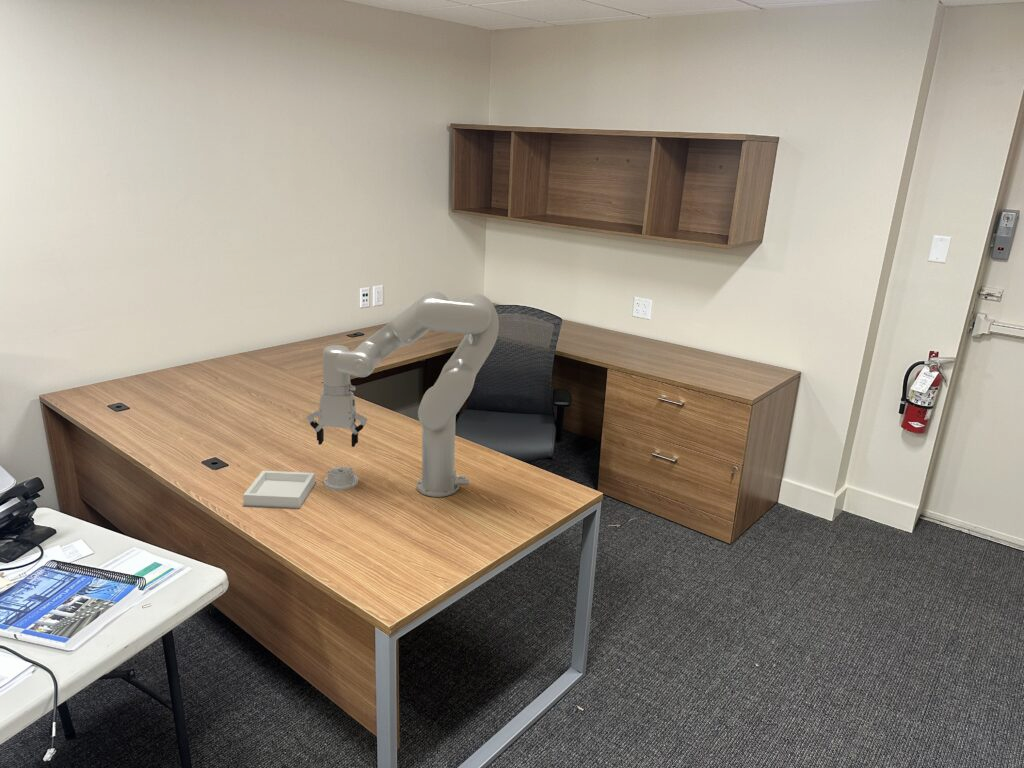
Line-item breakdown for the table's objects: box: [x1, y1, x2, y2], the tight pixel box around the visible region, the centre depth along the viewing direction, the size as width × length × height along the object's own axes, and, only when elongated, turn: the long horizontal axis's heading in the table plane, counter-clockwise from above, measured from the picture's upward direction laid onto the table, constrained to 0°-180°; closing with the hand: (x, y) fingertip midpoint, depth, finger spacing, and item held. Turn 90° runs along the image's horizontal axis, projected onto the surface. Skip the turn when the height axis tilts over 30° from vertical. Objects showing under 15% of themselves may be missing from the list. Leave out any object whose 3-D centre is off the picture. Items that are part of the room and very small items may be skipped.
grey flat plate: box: [242, 481, 317, 510], centre depth 205 cm, size 16×17×1 cm
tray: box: [242, 470, 316, 509], centre depth 204 cm, size 15×15×3 cm
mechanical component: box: [323, 465, 359, 491], centre depth 212 cm, size 10×4×10 cm
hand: (337, 444), depth 209 cm, fingers open, 9 cm apart
